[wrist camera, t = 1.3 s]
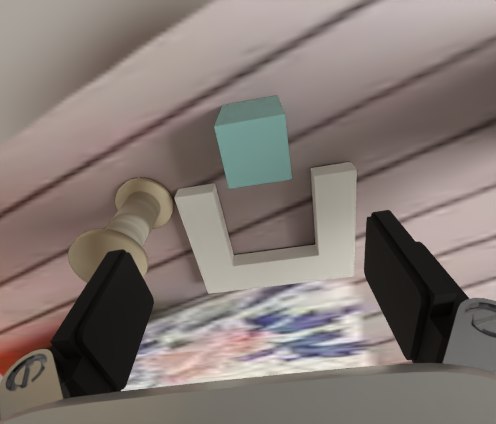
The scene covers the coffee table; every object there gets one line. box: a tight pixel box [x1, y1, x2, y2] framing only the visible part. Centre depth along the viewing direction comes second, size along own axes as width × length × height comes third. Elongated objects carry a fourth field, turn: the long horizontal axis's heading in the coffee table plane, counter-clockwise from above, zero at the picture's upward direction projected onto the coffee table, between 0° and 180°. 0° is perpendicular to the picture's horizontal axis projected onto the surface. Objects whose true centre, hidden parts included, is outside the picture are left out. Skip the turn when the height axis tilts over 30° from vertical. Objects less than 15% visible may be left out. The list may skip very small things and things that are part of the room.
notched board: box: [174, 162, 357, 294], centre depth 32 cm, size 18×14×2 cm
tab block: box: [214, 95, 292, 189], centre depth 24 cm, size 5×5×7 cm
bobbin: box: [68, 178, 174, 283], centre depth 27 cm, size 6×6×10 cm
